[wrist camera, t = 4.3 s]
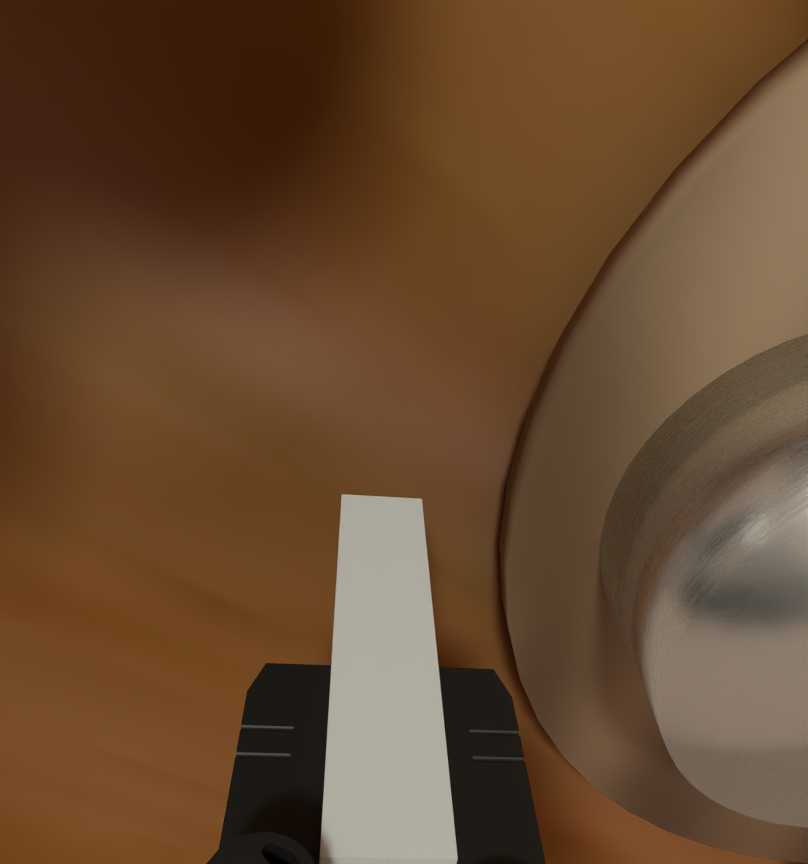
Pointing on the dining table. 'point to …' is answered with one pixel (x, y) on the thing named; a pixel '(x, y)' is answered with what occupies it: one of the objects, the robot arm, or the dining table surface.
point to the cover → (723, 583)
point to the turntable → (635, 423)
